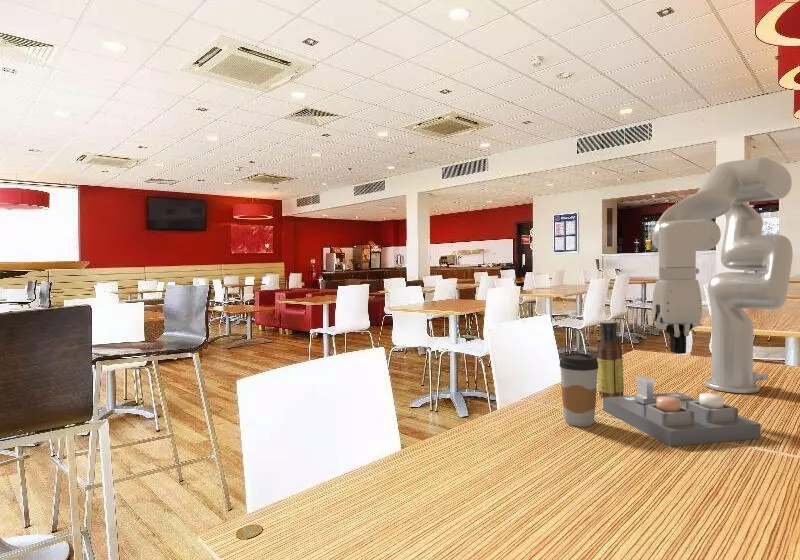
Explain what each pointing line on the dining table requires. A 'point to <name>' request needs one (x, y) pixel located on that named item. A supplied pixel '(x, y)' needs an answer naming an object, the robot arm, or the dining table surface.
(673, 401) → the terracotta button
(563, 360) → the coffee cup
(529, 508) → the dining table surface
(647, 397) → the slider knob
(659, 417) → the control panel
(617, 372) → the sauce bottle
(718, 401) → the offwhite button
